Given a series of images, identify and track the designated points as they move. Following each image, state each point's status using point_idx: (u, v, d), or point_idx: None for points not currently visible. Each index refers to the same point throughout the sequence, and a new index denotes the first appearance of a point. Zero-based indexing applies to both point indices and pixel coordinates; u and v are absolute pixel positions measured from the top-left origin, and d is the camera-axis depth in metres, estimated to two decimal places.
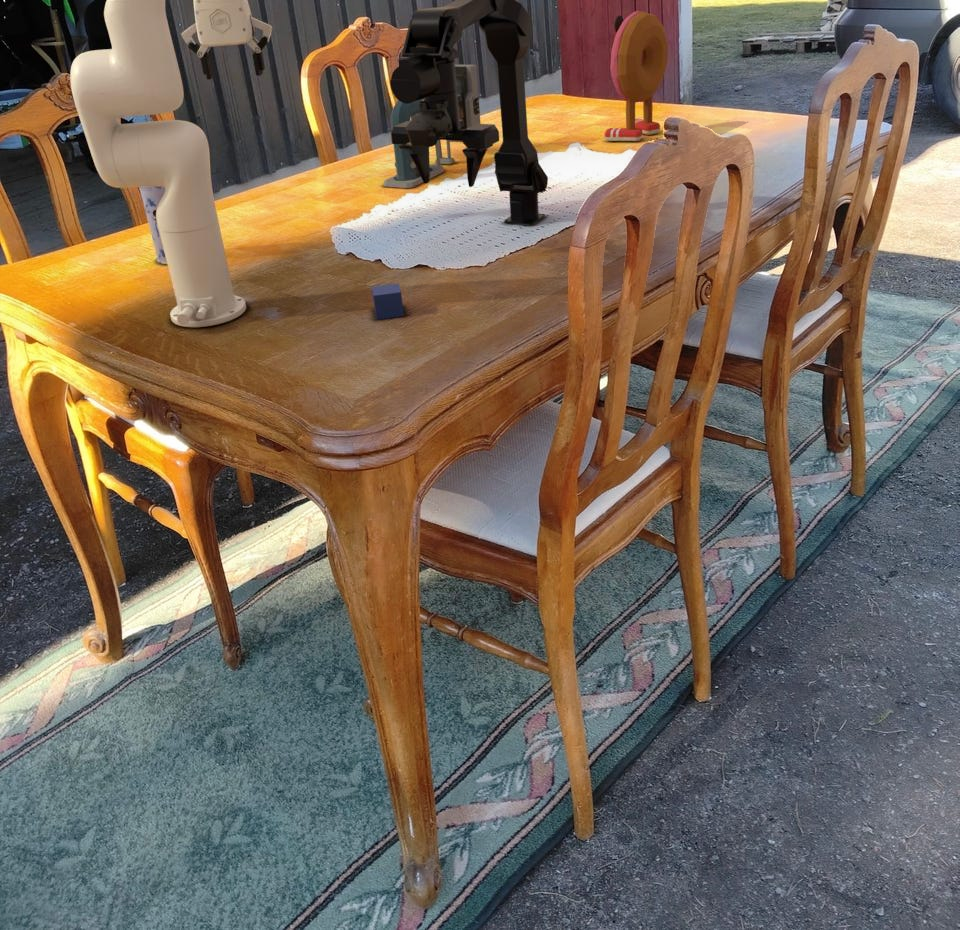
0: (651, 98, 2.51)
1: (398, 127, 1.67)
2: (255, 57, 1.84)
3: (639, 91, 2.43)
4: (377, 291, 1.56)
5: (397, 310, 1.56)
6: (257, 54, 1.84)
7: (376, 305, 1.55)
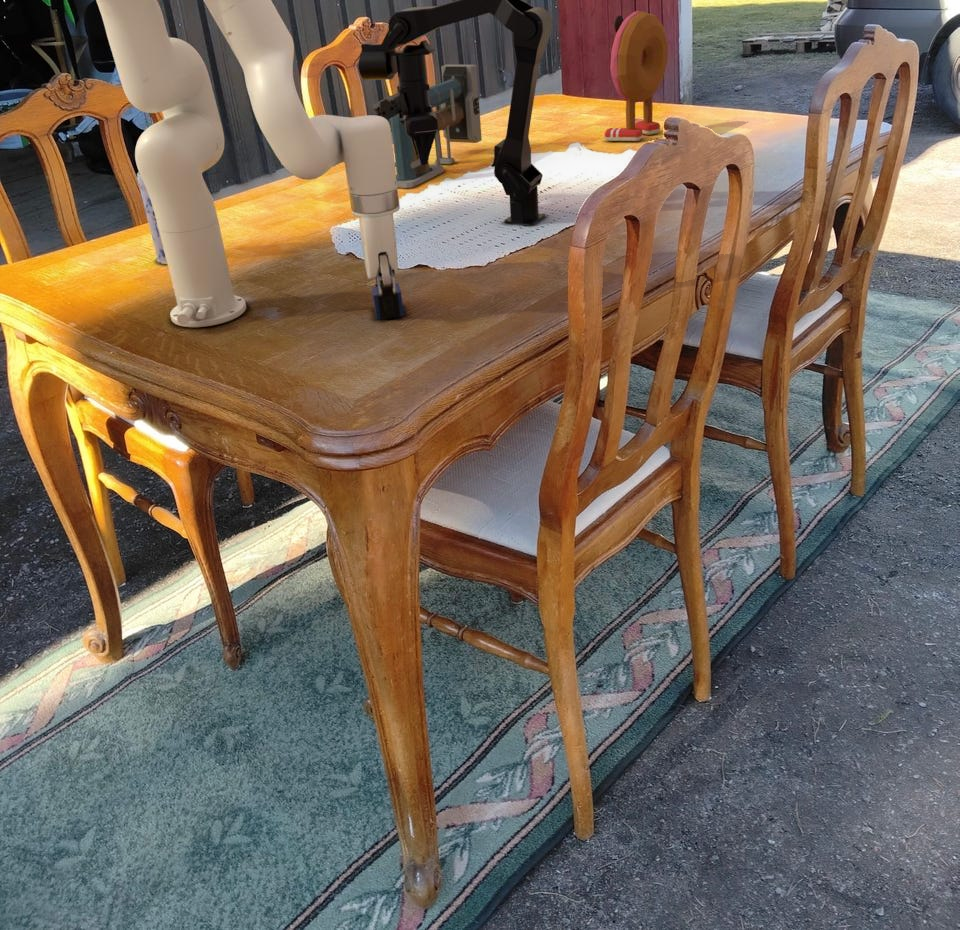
0: (651, 98, 2.51)
1: None
2: (378, 299, 1.55)
3: (639, 91, 2.43)
4: (377, 291, 1.56)
5: None
6: (382, 297, 1.54)
7: (376, 305, 1.55)
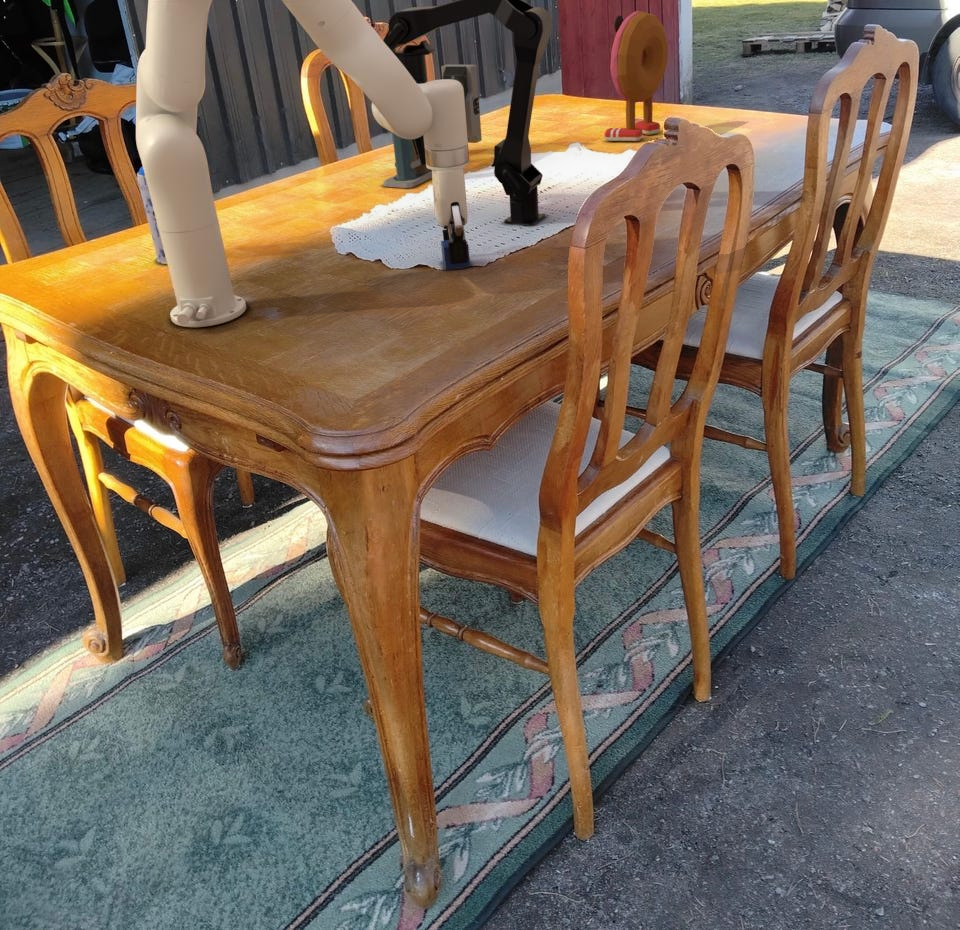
0: (651, 98, 2.51)
1: None
2: (449, 246, 1.71)
3: (639, 91, 2.43)
4: (447, 245, 1.74)
5: None
6: (452, 244, 1.71)
7: (446, 257, 1.74)
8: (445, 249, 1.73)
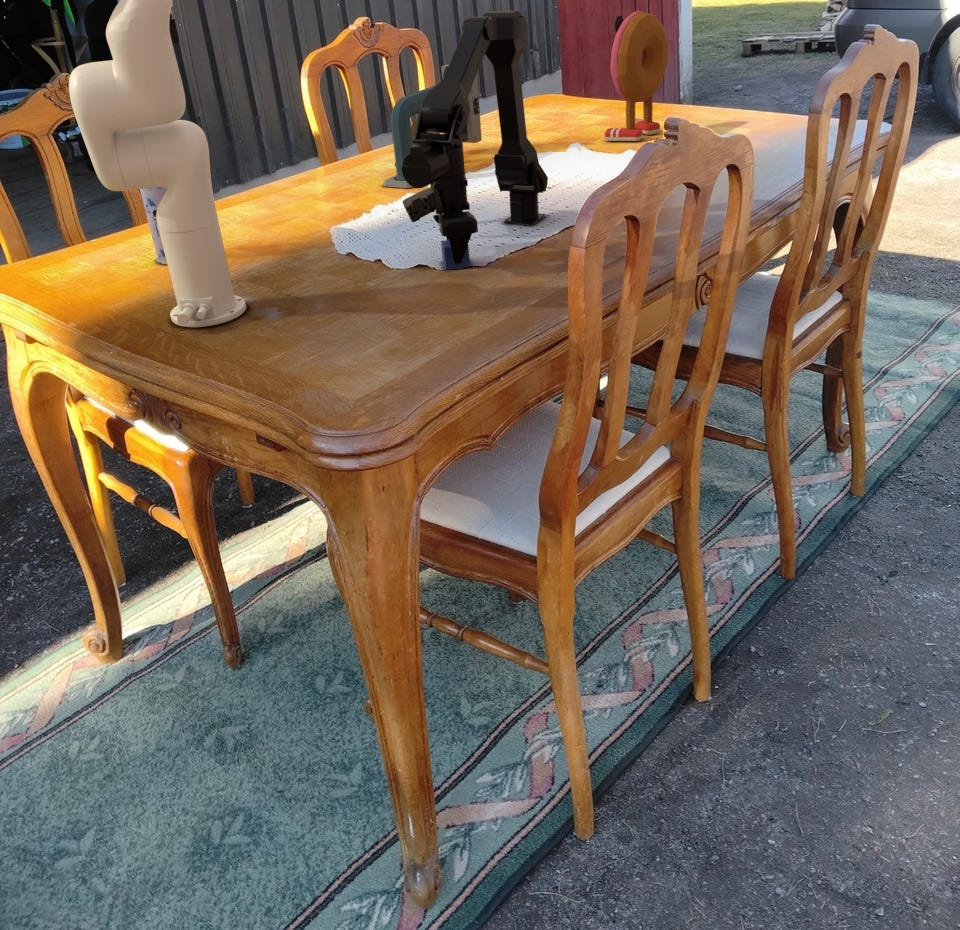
0: (651, 98, 2.51)
1: None
2: None
3: (639, 91, 2.43)
4: (447, 244, 1.74)
5: (464, 261, 1.75)
6: None
7: (446, 256, 1.74)
8: (445, 249, 1.73)
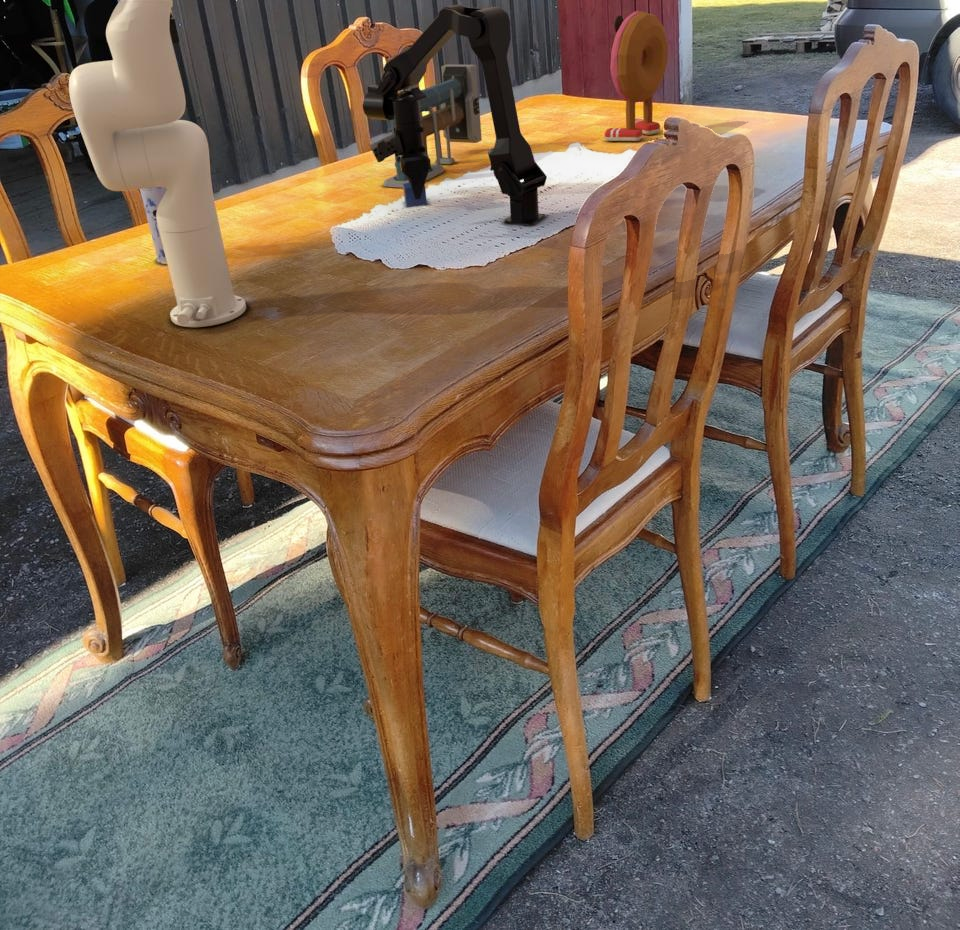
0: (651, 98, 2.51)
1: None
2: None
3: (639, 91, 2.43)
4: (407, 186, 2.12)
5: (421, 200, 2.12)
6: None
7: (406, 196, 2.11)
8: (406, 189, 2.10)
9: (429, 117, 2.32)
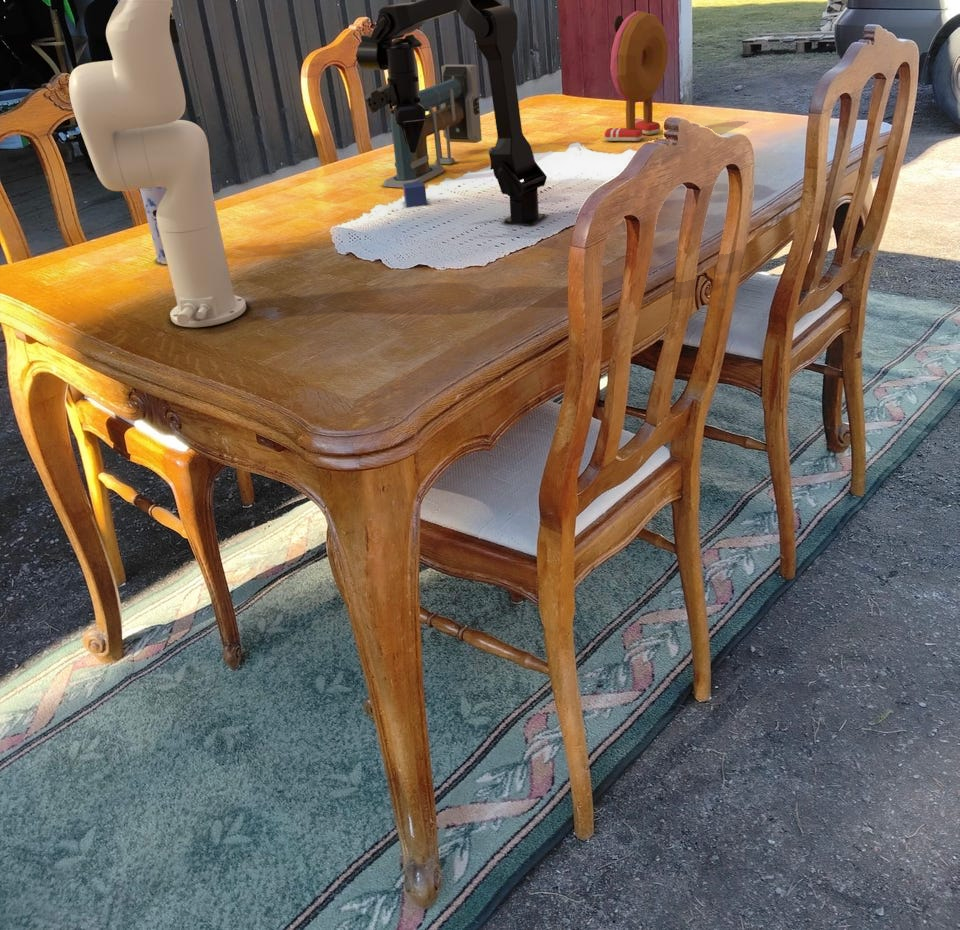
0: (651, 98, 2.51)
1: None
2: None
3: (639, 91, 2.43)
4: (407, 186, 2.12)
5: (421, 200, 2.12)
6: None
7: (406, 196, 2.11)
8: (406, 189, 2.10)
9: (429, 117, 2.32)
